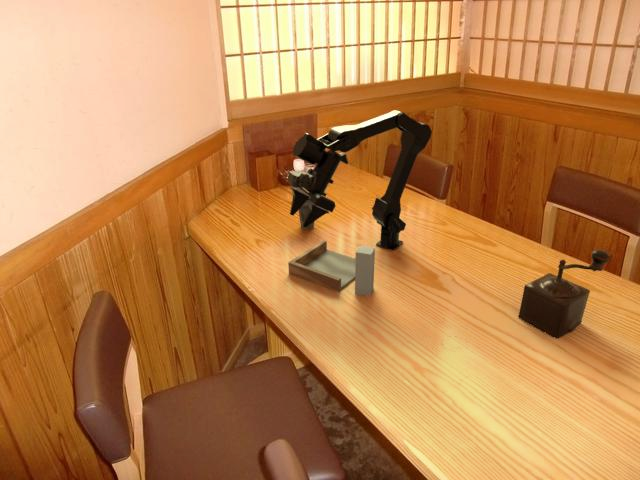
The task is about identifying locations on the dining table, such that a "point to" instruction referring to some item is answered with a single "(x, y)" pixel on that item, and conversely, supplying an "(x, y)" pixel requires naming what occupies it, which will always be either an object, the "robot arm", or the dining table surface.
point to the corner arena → (324, 267)
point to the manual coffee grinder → (558, 299)
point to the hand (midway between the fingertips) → (297, 220)
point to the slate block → (364, 270)
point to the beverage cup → (303, 213)
